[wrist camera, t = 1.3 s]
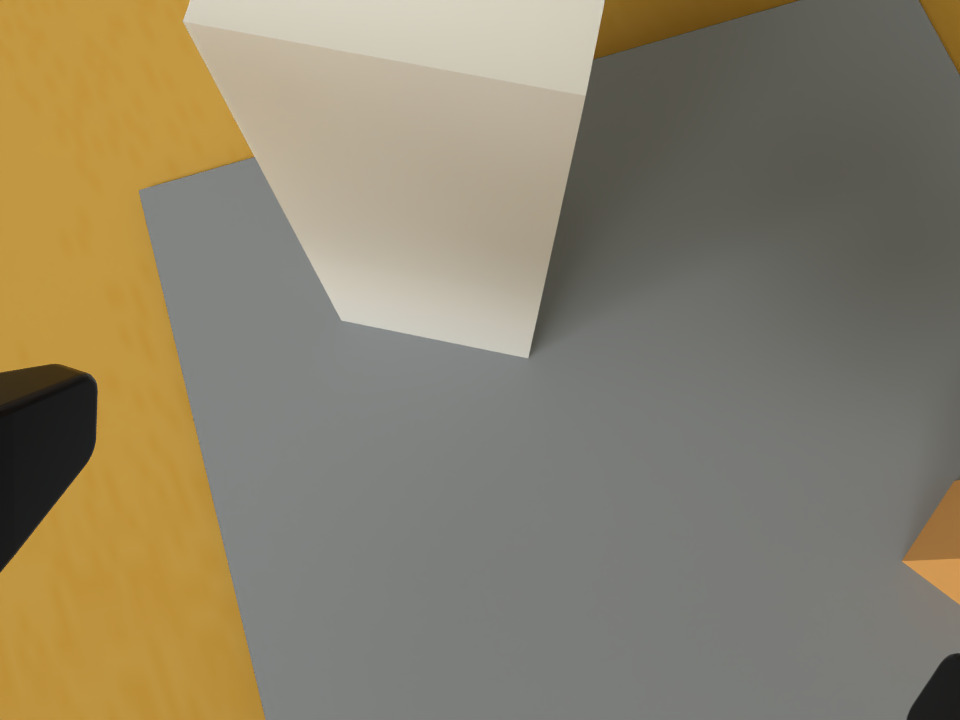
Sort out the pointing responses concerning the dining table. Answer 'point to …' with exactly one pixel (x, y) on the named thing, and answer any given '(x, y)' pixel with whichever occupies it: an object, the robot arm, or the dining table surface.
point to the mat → (615, 408)
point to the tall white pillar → (413, 147)
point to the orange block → (940, 546)
